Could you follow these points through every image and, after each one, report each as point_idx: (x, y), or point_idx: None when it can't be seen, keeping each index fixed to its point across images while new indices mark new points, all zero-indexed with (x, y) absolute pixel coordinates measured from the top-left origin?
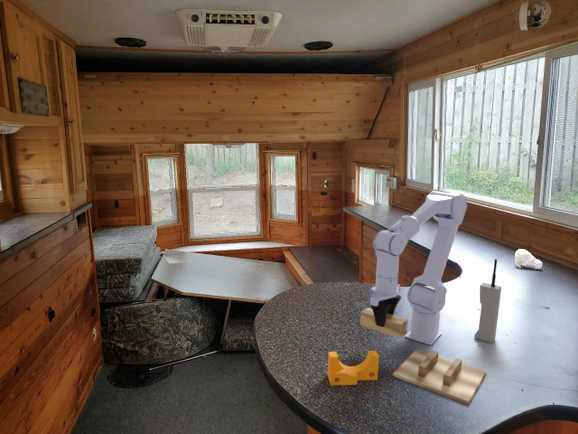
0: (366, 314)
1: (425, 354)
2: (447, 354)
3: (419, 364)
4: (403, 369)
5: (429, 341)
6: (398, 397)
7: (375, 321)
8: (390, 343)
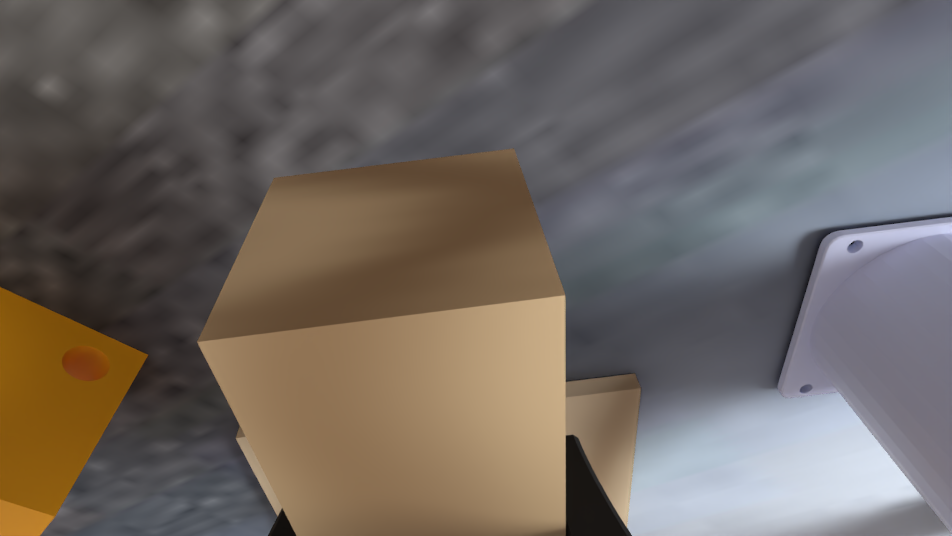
0: (252, 429)
1: (601, 441)
2: (710, 468)
3: None
4: None
5: (812, 381)
6: (111, 509)
7: (280, 511)
8: (644, 205)
